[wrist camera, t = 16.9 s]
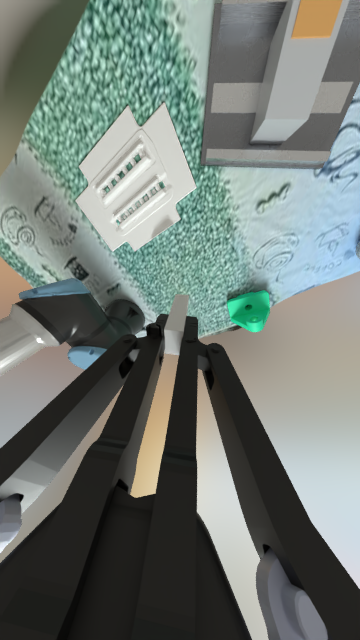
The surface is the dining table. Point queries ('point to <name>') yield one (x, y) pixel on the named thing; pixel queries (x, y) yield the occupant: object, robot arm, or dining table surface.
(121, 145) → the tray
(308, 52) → the module
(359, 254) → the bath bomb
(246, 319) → the camera mount
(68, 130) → the dining table surface
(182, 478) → the robot arm
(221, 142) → the rail
